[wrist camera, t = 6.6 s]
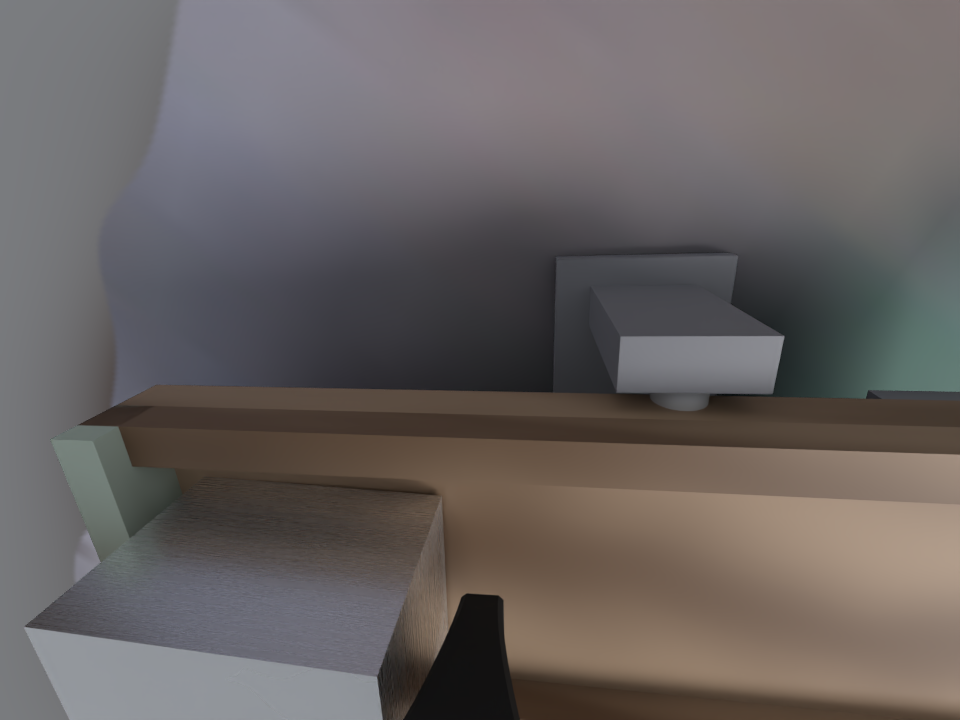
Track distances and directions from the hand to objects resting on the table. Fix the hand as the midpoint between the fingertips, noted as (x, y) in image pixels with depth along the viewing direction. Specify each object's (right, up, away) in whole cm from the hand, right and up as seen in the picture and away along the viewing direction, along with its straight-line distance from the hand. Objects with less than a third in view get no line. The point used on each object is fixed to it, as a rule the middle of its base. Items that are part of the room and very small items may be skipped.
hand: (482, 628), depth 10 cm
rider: (-4, +1, +2) cm, 4 cm away
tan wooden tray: (+3, +1, +4) cm, 5 cm away
